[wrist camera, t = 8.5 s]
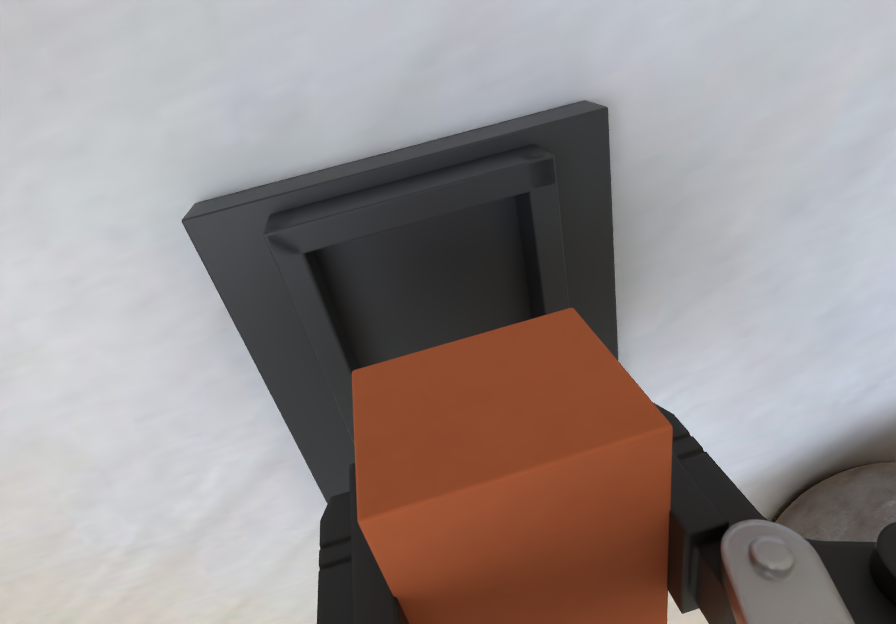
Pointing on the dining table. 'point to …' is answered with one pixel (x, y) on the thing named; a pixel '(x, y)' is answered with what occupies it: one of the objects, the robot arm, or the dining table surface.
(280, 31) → the dining table surface
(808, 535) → the mortar
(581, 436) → the orange block
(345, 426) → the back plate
